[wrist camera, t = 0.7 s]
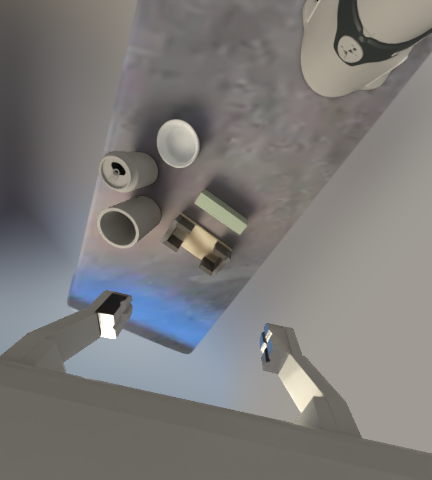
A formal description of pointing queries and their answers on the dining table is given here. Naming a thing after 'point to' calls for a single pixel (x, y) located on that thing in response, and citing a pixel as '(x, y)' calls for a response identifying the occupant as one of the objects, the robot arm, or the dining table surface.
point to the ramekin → (178, 143)
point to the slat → (221, 211)
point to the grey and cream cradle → (198, 244)
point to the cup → (128, 221)
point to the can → (128, 170)
